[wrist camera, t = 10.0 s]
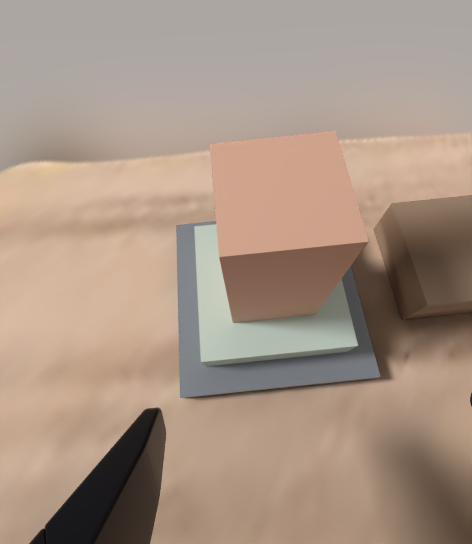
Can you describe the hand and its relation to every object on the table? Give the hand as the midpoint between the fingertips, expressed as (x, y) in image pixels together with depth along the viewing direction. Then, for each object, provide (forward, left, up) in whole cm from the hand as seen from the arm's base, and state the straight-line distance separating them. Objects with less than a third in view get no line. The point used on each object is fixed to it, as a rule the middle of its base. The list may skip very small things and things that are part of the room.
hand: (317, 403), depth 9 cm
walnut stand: (+3, -13, -9) cm, 16 cm away
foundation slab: (+6, -2, -8) cm, 11 cm away
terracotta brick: (+6, -2, -6) cm, 9 cm away
